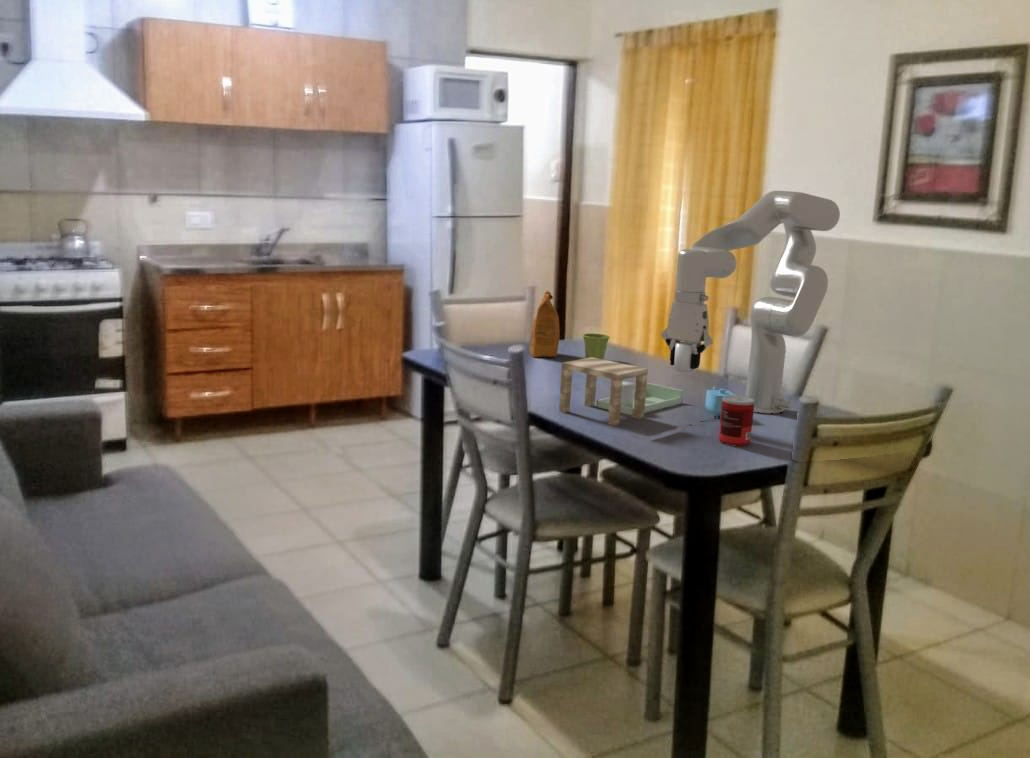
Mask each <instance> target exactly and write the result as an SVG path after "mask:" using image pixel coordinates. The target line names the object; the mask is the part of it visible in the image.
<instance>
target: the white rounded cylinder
mask: <svg viewBox="0 0 1030 758" xmlns="http://www.w3.org/2000/svg"><path fill="white" fill-rule="evenodd" d="M635 387H636V383H634V382H630V381H623V382H622V394H621V406H626V407H630V408H633V404H634V391H635Z"/></svg>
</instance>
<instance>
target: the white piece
mask: <svg viewBox="0 0 1030 758" xmlns="http://www.w3.org/2000/svg"><path fill="white" fill-rule="evenodd" d="M691 354H693V348H692V343H691V342H685V341H680V342H676V345H675V359H674V365H673V370H674V371H676V372H681V373H682V372H683V373H693V372H695V370H696V369H691V368H690V364H691Z"/></svg>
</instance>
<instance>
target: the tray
mask: <svg viewBox="0 0 1030 758" xmlns="http://www.w3.org/2000/svg"><path fill="white" fill-rule="evenodd" d="M634 400H635V391H634ZM683 402H684V389H679V388H674V387H670V386H669V387H668V386H667V385H666V386H665V385H661V384H655V383H651V382H647V385H646V397H645V409H644V414H646V413H650V412H653V411H658V410H661V409H665V408H668V407H673V406H677V405H681V404H683ZM609 405H610V396H609V397H605V398H601V399H597V400H596V404H595V406H596V408H600V409H603V410H604V409H605V410H608V411H609ZM633 412H634V404H633V408H630V407H626V406H621V407H620V414H624V415H629V416H632V417H633Z"/></svg>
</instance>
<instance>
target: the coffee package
mask: <svg viewBox="0 0 1030 758" xmlns="http://www.w3.org/2000/svg"><path fill="white" fill-rule="evenodd" d="M553 298H554V297H553V295H552V293H551V292H550V291H549V290H546V291H545V292H544V293H543V297H542V299H541V302H540V303H539V306H538V308H537V309H536V310H537V311H536V314H535V317H534V320H533V323H532V326H531V332H530V341H529V352H530V353H529V354H530V355H531V356H532V357H533V358H551V357H552V358H553V357H557V355H558V352H559V351H558V350H559V345H560V335H561V334H560V332H561V331H560V318H559V314H558V312H557V310H556V309H555V307H554V305H553V304H552V302H551V300H553Z"/></svg>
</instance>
